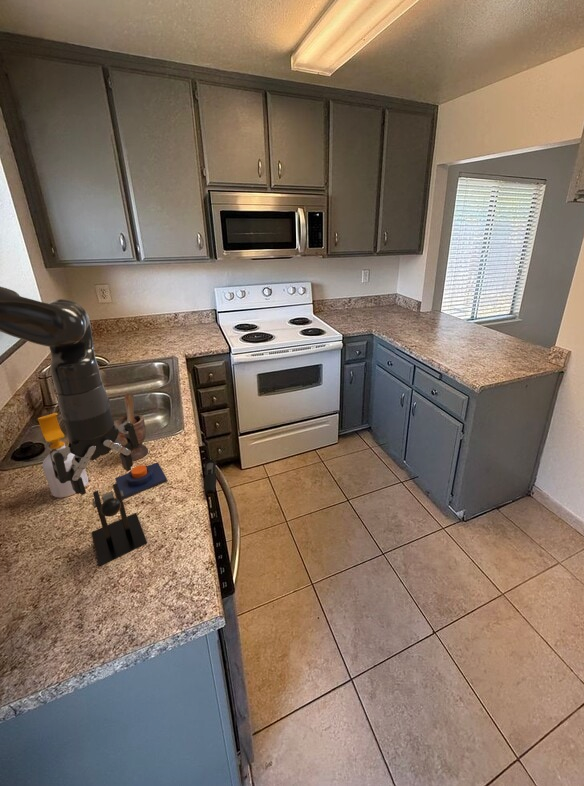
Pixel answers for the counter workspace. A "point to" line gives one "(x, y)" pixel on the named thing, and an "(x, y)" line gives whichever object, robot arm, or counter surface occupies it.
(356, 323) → the counter surface
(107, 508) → the switch lever
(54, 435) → the soap bottle
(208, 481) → the electric trimmer
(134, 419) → the mortar and pestle
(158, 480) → the control block
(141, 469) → the button
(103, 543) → the switch bracket
